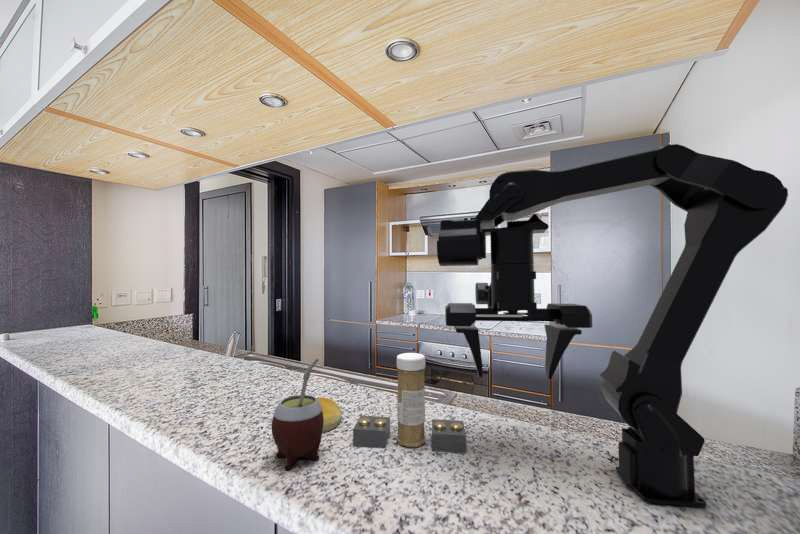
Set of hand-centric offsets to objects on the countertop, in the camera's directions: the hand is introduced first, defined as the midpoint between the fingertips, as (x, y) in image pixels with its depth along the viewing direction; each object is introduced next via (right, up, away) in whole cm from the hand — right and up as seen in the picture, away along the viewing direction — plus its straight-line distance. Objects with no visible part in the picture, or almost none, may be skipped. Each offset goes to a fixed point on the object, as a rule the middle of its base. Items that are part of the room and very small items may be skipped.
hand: (514, 377), depth 45 cm
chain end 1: (-20, -12, +7) cm, 25 cm away
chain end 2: (-8, -12, +5) cm, 16 cm away
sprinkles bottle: (-14, -12, +6) cm, 20 cm away
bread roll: (-31, -13, +12) cm, 35 cm away
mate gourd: (-30, -12, +1) cm, 32 cm away
